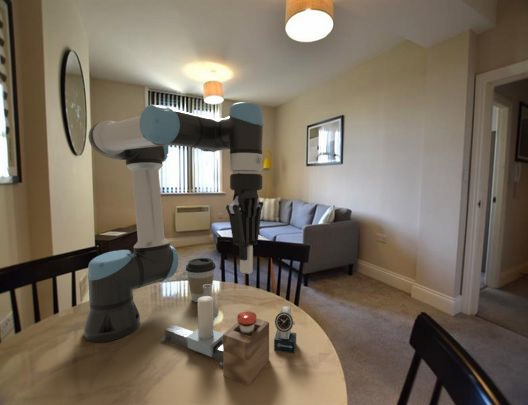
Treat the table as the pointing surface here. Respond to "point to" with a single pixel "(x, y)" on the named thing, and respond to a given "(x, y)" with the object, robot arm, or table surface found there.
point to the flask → (208, 293)
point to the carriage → (205, 329)
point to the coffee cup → (199, 276)
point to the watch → (284, 331)
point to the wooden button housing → (245, 352)
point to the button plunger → (246, 322)
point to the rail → (180, 338)
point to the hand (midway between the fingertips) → (246, 271)
